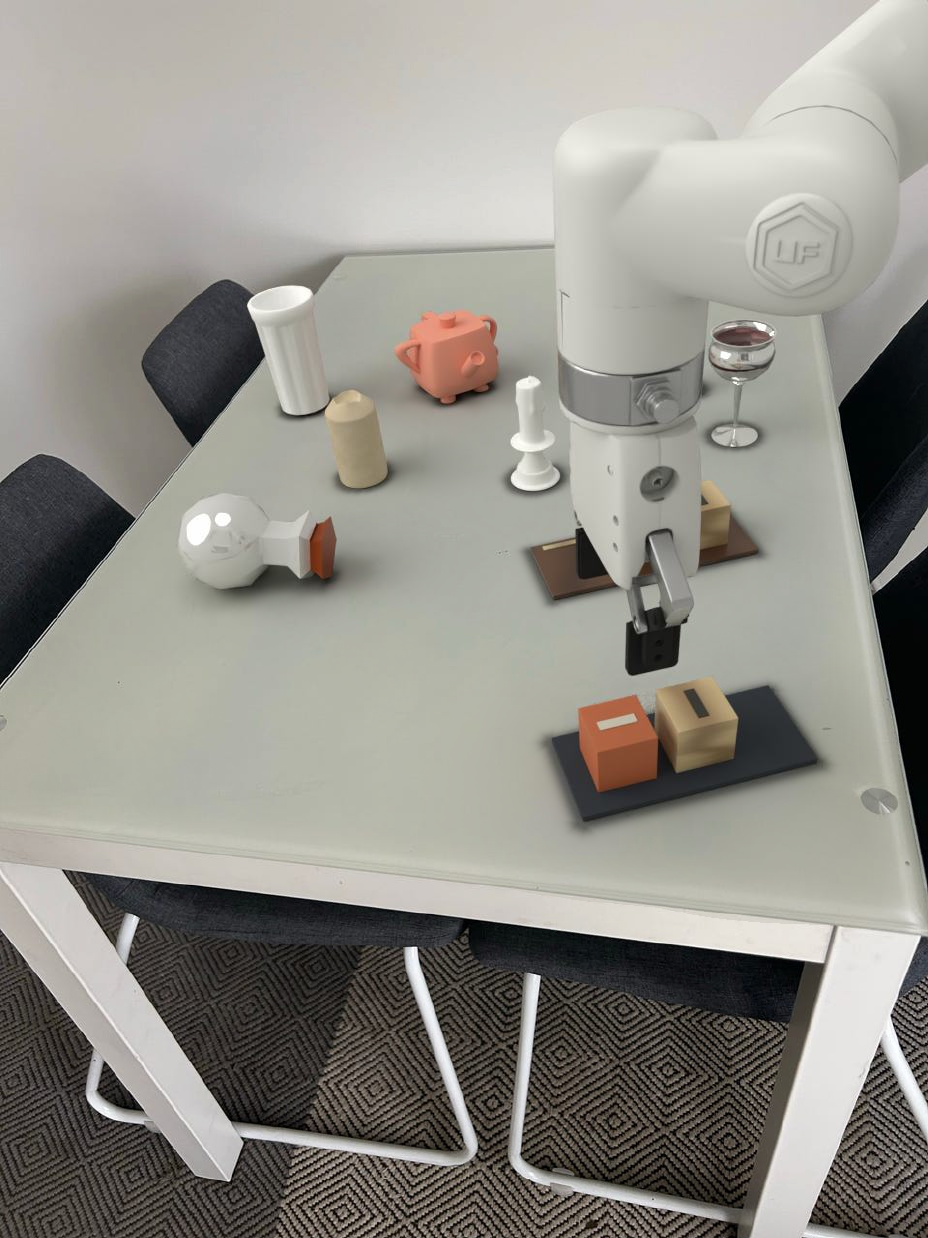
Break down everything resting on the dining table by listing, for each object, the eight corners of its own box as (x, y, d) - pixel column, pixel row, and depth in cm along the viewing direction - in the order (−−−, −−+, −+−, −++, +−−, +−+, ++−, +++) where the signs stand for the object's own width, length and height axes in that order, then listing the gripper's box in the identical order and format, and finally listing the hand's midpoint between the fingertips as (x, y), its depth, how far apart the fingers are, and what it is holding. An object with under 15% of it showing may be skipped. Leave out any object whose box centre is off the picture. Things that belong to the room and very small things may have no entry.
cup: (347, 407, 119) (323, 298, 110) (288, 428, 117) (259, 318, 108) (323, 384, 125) (298, 279, 116) (266, 404, 123) (237, 298, 113)
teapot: (486, 413, 114) (478, 338, 108) (398, 405, 118) (385, 333, 112) (516, 369, 122) (510, 297, 116) (432, 363, 126) (422, 293, 120)
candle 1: (386, 486, 104) (370, 405, 98) (337, 491, 104) (318, 411, 98) (390, 460, 108) (374, 381, 102) (343, 464, 109) (325, 386, 102)
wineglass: (763, 453, 101) (774, 348, 93) (699, 448, 103) (705, 346, 95) (768, 421, 105) (780, 319, 97) (707, 418, 107) (713, 317, 100)
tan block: (709, 716, 73) (712, 674, 70) (734, 759, 69) (738, 717, 66) (654, 730, 72) (655, 688, 69) (676, 773, 69) (678, 731, 66)
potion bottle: (195, 581, 97) (337, 592, 96) (156, 587, 87) (313, 600, 86) (199, 491, 96) (342, 502, 95) (160, 487, 86) (319, 499, 85)
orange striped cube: (635, 734, 72) (636, 693, 69) (657, 778, 69) (658, 736, 66) (579, 748, 72) (577, 707, 69) (598, 793, 68) (597, 751, 65)
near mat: (767, 689, 75) (768, 684, 74) (817, 762, 69) (818, 758, 68) (551, 741, 73) (551, 737, 73) (583, 821, 67) (582, 817, 67)
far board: (722, 508, 94) (722, 503, 94) (757, 553, 88) (758, 548, 87) (530, 551, 92) (530, 546, 92) (553, 600, 86) (553, 595, 86)
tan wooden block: (708, 518, 92) (711, 478, 89) (727, 543, 89) (731, 503, 86) (664, 527, 92) (666, 488, 89) (682, 554, 88) (684, 513, 85)
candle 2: (522, 462, 105) (514, 362, 97) (567, 468, 103) (562, 367, 95) (503, 487, 101) (493, 386, 93) (549, 495, 99) (542, 392, 91)
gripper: (771, 441, 43) (735, 697, 54) (639, 301, 56) (632, 532, 67) (616, 472, 42) (612, 726, 54) (519, 323, 55) (532, 553, 67)
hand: (623, 618), depth 60 cm, fingers open, 9 cm apart
